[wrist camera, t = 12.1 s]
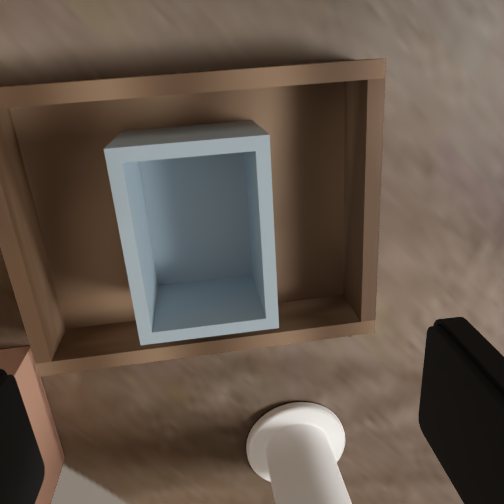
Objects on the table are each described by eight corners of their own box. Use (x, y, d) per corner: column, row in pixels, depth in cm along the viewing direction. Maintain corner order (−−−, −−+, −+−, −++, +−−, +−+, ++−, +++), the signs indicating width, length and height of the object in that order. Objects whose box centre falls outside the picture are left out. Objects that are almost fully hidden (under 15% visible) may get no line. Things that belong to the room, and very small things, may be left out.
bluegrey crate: (252, 120, 23) (269, 134, 18) (262, 278, 27) (279, 328, 22) (122, 130, 23) (103, 148, 18) (149, 291, 26) (140, 345, 21)
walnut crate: (355, 59, 24) (386, 58, 20) (351, 298, 29) (374, 332, 25) (-8, 86, 22) (-48, 91, 18) (59, 334, 27) (39, 376, 24)
